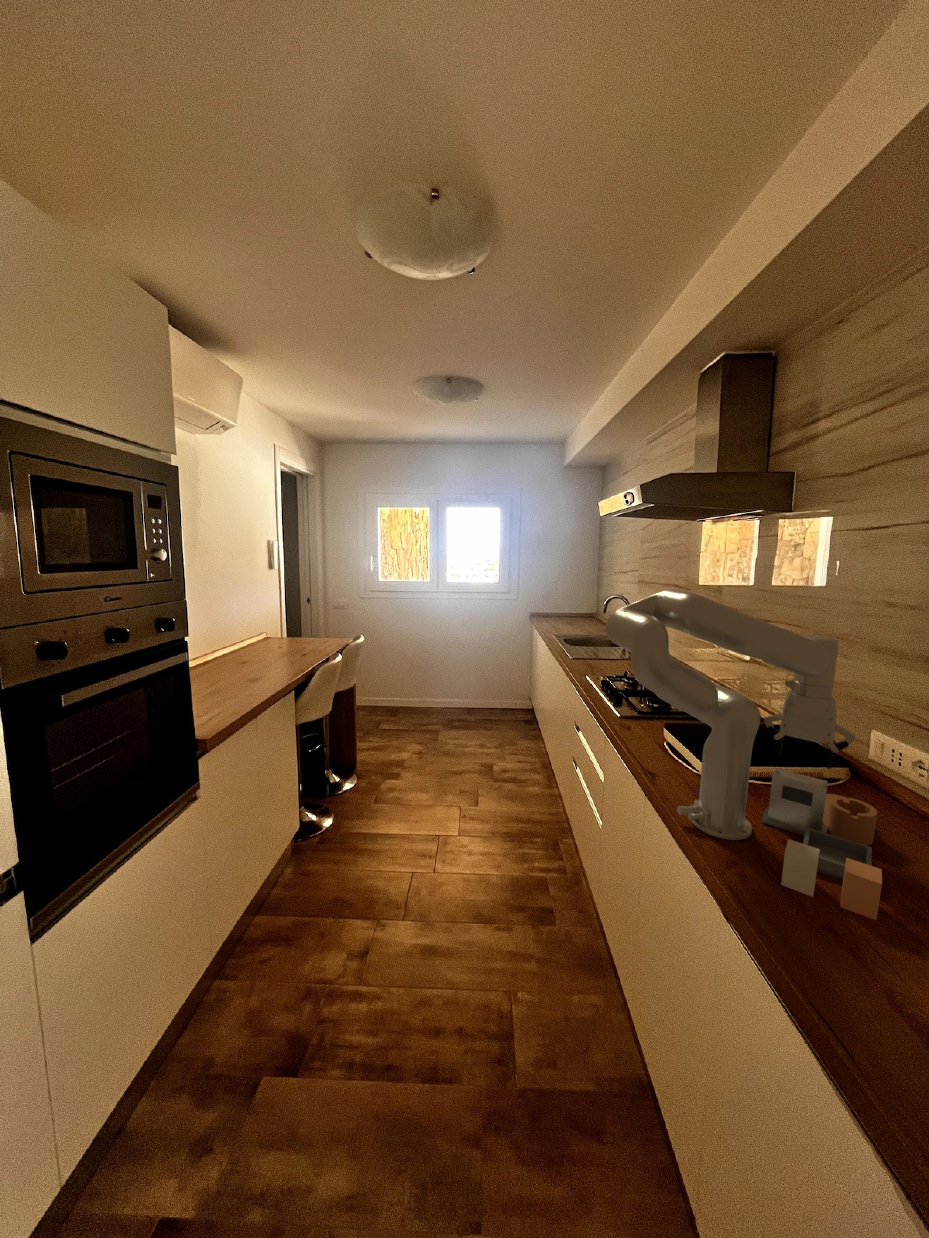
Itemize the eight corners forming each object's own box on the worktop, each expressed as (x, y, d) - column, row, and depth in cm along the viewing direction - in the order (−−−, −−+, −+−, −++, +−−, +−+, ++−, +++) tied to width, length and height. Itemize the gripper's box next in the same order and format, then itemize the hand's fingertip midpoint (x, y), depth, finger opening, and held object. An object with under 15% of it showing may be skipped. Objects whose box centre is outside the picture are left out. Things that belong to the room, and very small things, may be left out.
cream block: (781, 884, 93) (785, 851, 92) (784, 871, 97) (788, 839, 96) (813, 896, 90) (817, 862, 89) (815, 882, 94) (819, 849, 93)
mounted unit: (761, 822, 114) (766, 774, 112) (765, 811, 118) (771, 765, 117) (825, 842, 106) (832, 791, 104) (827, 830, 111) (833, 780, 109)
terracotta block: (840, 906, 88) (845, 871, 87) (841, 891, 92) (846, 857, 91) (876, 920, 85) (882, 884, 84) (876, 904, 89) (881, 869, 87)
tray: (799, 865, 99) (800, 851, 99) (805, 839, 107) (806, 827, 107) (869, 889, 92) (871, 875, 92) (869, 860, 101) (871, 847, 100)
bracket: (878, 850, 104) (882, 820, 103) (830, 839, 108) (834, 810, 107) (854, 808, 120) (858, 782, 119) (814, 801, 124) (817, 775, 123)
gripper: (765, 686, 114) (757, 755, 116) (860, 701, 103) (850, 777, 106) (770, 679, 119) (763, 745, 122) (861, 693, 109) (851, 765, 111)
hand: (803, 760), depth 114 cm, fingers open, 9 cm apart
